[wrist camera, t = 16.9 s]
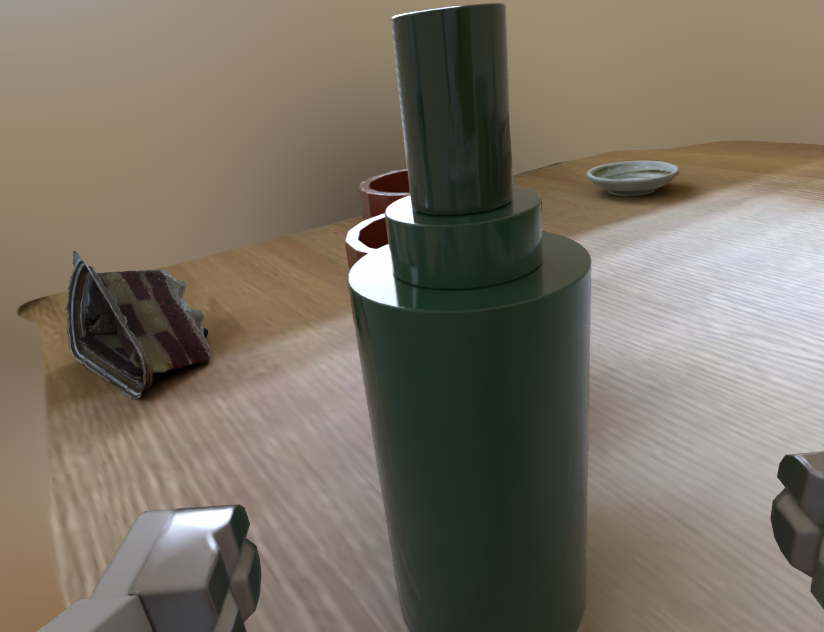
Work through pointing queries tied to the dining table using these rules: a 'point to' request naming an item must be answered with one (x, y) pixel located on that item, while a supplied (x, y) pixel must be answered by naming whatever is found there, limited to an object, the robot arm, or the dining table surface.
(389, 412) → the bottle
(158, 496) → the dining table surface
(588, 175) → the saucer
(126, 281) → the checkered pouch
